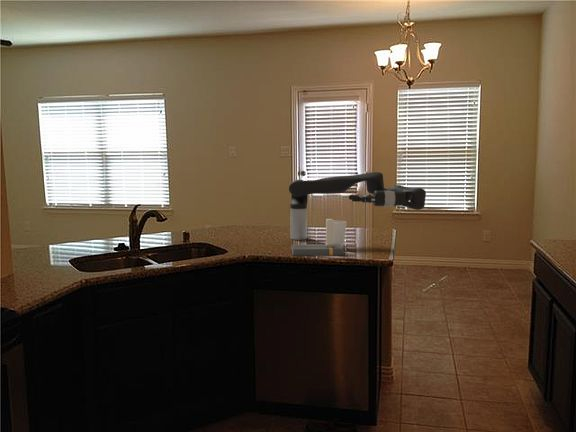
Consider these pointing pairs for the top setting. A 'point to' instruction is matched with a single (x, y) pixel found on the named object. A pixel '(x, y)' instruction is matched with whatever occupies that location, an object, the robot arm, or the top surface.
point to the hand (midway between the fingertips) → (350, 198)
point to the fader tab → (329, 233)
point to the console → (316, 249)
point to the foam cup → (339, 232)
